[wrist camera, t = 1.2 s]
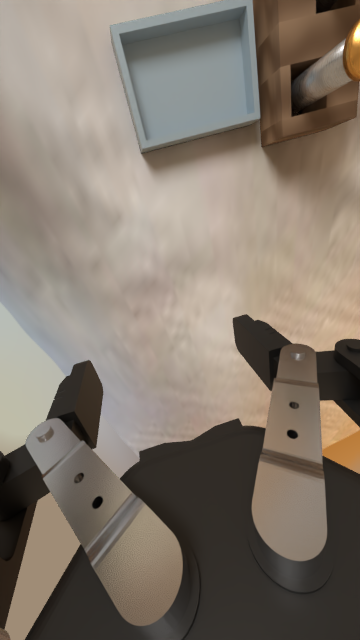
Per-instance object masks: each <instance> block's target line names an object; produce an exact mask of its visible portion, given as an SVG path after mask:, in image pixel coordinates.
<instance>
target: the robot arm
mask: <svg viewBox="0 0 360 640" xmlns="http://www.w3.org/2000/svg"><path fill="white" fill-rule="evenodd" d="M233 328H234V336H235V343H236V346H237V349H238V351H239V352H240V354H241V355H242V356H243V357H244V359H245V360H246V361H247V362H248V364H249V365H250V366H251V367H252V369H253V370H254V371H255V372H256V374H257V375H258V376H259V377H260V379H261V380H262V381H263V382H264V384H265V385H266V386H267V387H268V389H269V390H270V391H272V394H271V401H270V407H269V413H268V419H267V425H266V428H262V427H257V426H242V424H241V422H240V420H239V418H238V419H235V420H232V421H229V422H226V423H223V424H220V425H217V426H214V427H213V428H211V429H210V430H208V431H206V432H205V433H203V434H202V435H200V436H198V437H197V438H195V439H194V440H191V441H183V442H172V443H163V444H160V445H157V446H154V447H151V448H149V449H146V450H143V451H140V452H139V454H140V461H139V462H137V463H136V464H135V465H133V466H132V467H131V468H130V469H129V470H128V471H126V472H125V474H124V475H123V476H122V477H121V478H120V479H119V478H118V477H117V476H116V475H115V474H114V473H113V472H112V471H111V470H110V468H109V467H108V466H107V465H106V464H105V463H104V462H103V461H102V460H101V459H100V458H99V457H98V456H97V455H96V453H95V452H93V450H92V449H94V448H96V444H97V437H98V429H99V421H100V414H101V406H102V398H103V387H102V383H101V381H100V379H99V377H98V375H97V373H96V371H95V369H94V367H93V364H92V363H91V361H90V360H88V361H84V362H81V363H77V364H75V365H74V366H73V369H72V372H71V375H70V376H67V377H66V378H65V379H64V380H63V381H62V383H61V384H60V385H59V388H58V390H57V394H56V396H55V398H54V399H55V400H53V403H52V406H51V408H50V411H49V413H48V416H47V419H46V421H44V422H42V423H41V424H39V425H38V426H37V427H35V428H34V429H33V430H32V432H31V433H30V434H29V436H28V437H27V439H26V443H25V445H23V446H21V447H20V448H18V449H16V450H14V451H12V452H11V453H9V454H7V455H5V456H4V455H3V453H2V452H1V451H0V640H10V636H9V634H8V633H7V631H5V630H4V629H5V624H6V621H7V617H8V613H9V609H10V605H11V601H12V597H13V593H14V590H15V586H16V582H17V578H18V574H19V570H20V566H21V562H22V559H23V554H24V551H25V547H26V543H27V539H28V535H29V531H30V527H31V523H32V520H33V516H34V511H35V508H36V504H37V500H38V499H40V498H42V497H43V496H45V495H46V494H48V493H49V492H51V494H52V495H53V497H54V499H55V501H56V502H57V504H58V506H59V507H60V509H61V511H62V512H63V514H64V516H65V517H66V519H67V521H68V522H69V524H70V526H71V527H72V529H73V531H74V533H75V534H76V536H77V538H78V540H79V541H80V543H81V545H80V546H79V548H78V550H77V552H76V553H75V555H74V556H73V558H72V560H71V562H70V563H69V565H68V567H67V569H66V570H65V572H64V574H63V575H62V577H61V579H60V581H59V582H58V584H57V586H56V588H55V589H54V591H53V592H52V594H51V596H50V597H49V599H48V601H47V603H46V604H45V606H44V608H43V610H42V611H41V613H40V615H39V616H38V618H37V620H36V621H35V623H34V625H33V626H32V628H31V630H30V632H29V633H28V635H27V637H26V639H25V640H360V474H358V473H356V472H354V471H352V470H350V469H348V468H346V467H344V466H342V465H340V464H338V463H336V462H334V461H332V460H330V459H328V458H326V457H324V456H322V441H321V420H320V400H333V401H334V402H335V403H336V404H337V405H338V406H339V407H340V408H341V409H342V410H343V411H344V412H345V413H346V414H347V415H348V416H349V417H350V418H351V419H352V420H353V421H354V422H355V423H356V424H357V425H358V426H359V427H360V340H357V339H344V340H340V341H338V342H337V343H336V344H335V350H334V351H323V352H315V351H314V350H313V349H312V348H311V347H309V346H307V345H303V344H292V343H291V342H290V341H289V340H287V339H286V338H285V337H284V336H282V335H281V334H280V333H279V332H277V331H276V330H275V329H274V328H272V327H271V326H270V325H269V324H267V323H266V322H263V321H260V320H256V321H254V320H253V319H252V318H251V317H249V316H248V315H247V314H245V315H242V316H239V317H235V318H233Z"/></svg>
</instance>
